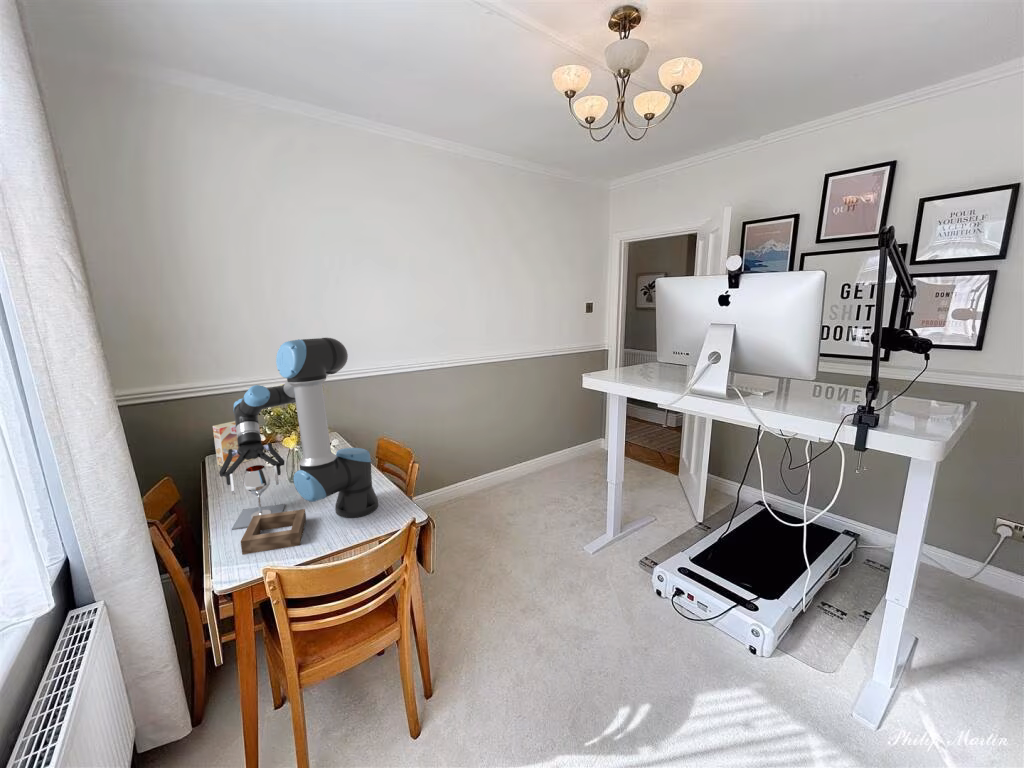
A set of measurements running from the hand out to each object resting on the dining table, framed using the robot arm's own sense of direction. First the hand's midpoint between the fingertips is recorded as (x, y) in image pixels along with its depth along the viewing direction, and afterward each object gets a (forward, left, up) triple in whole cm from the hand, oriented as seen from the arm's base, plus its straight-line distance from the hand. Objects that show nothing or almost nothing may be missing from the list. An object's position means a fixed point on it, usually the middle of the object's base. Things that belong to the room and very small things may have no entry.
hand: (255, 487), depth 148 cm
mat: (0, +1, -11) cm, 11 cm away
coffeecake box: (+22, -61, -11) cm, 66 cm away
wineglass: (-1, +1, -11) cm, 11 cm away
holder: (-8, +17, -11) cm, 22 cm away
